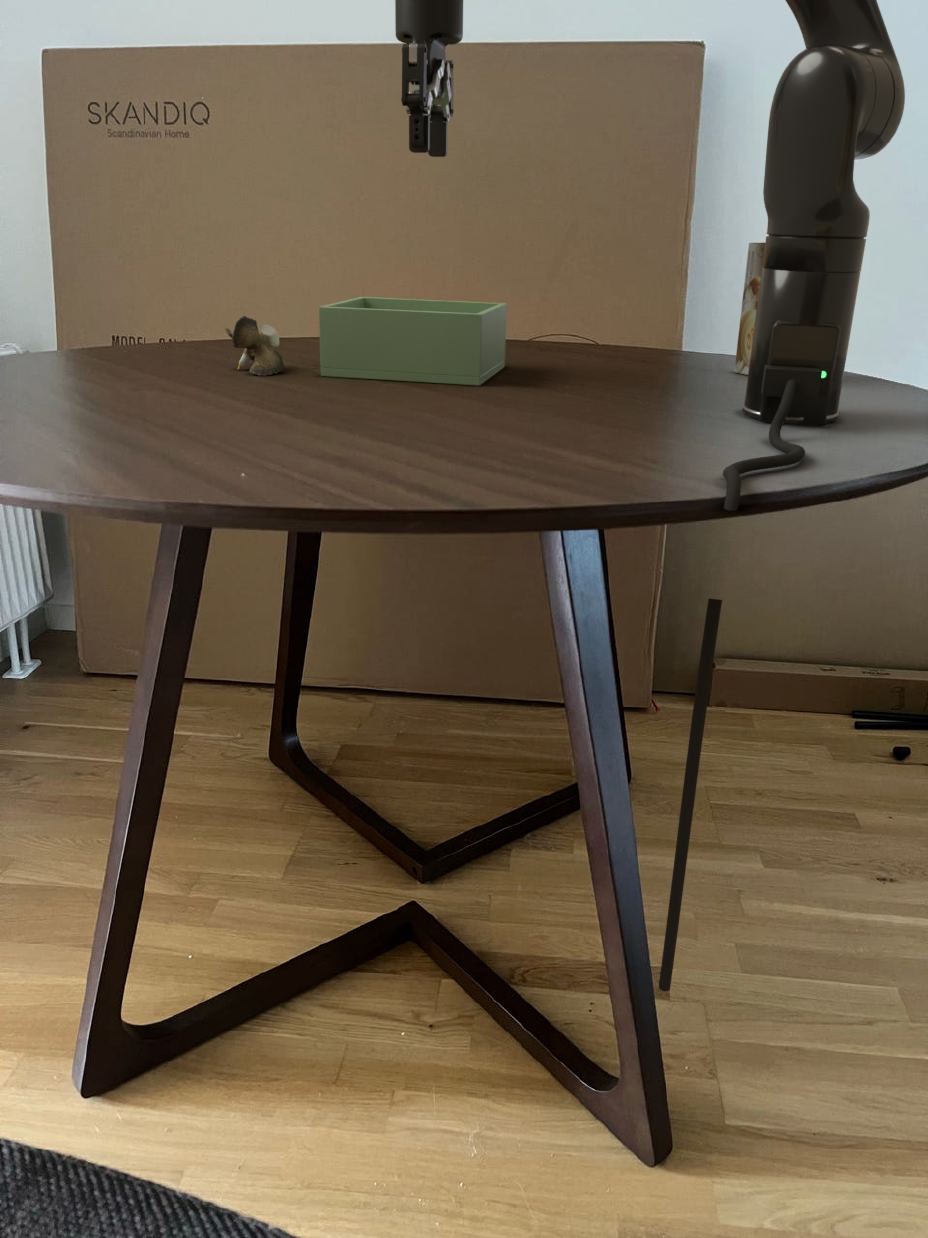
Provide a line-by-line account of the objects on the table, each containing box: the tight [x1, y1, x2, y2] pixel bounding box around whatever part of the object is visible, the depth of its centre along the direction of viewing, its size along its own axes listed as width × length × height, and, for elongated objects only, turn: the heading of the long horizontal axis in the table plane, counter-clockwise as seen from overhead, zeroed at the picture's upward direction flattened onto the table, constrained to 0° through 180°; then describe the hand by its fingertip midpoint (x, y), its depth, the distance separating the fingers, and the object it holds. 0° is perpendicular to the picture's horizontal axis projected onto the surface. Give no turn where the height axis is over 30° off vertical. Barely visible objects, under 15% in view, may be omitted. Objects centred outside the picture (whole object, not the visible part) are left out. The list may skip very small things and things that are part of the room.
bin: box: [318, 296, 508, 387], centre depth 123 cm, size 16×20×8 cm
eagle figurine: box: [224, 315, 285, 377], centre depth 122 cm, size 8×7×9 cm
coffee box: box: [733, 242, 765, 376], centre depth 124 cm, size 9×6×16 cm
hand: (428, 154), depth 115 cm, fingers open, 8 cm apart
